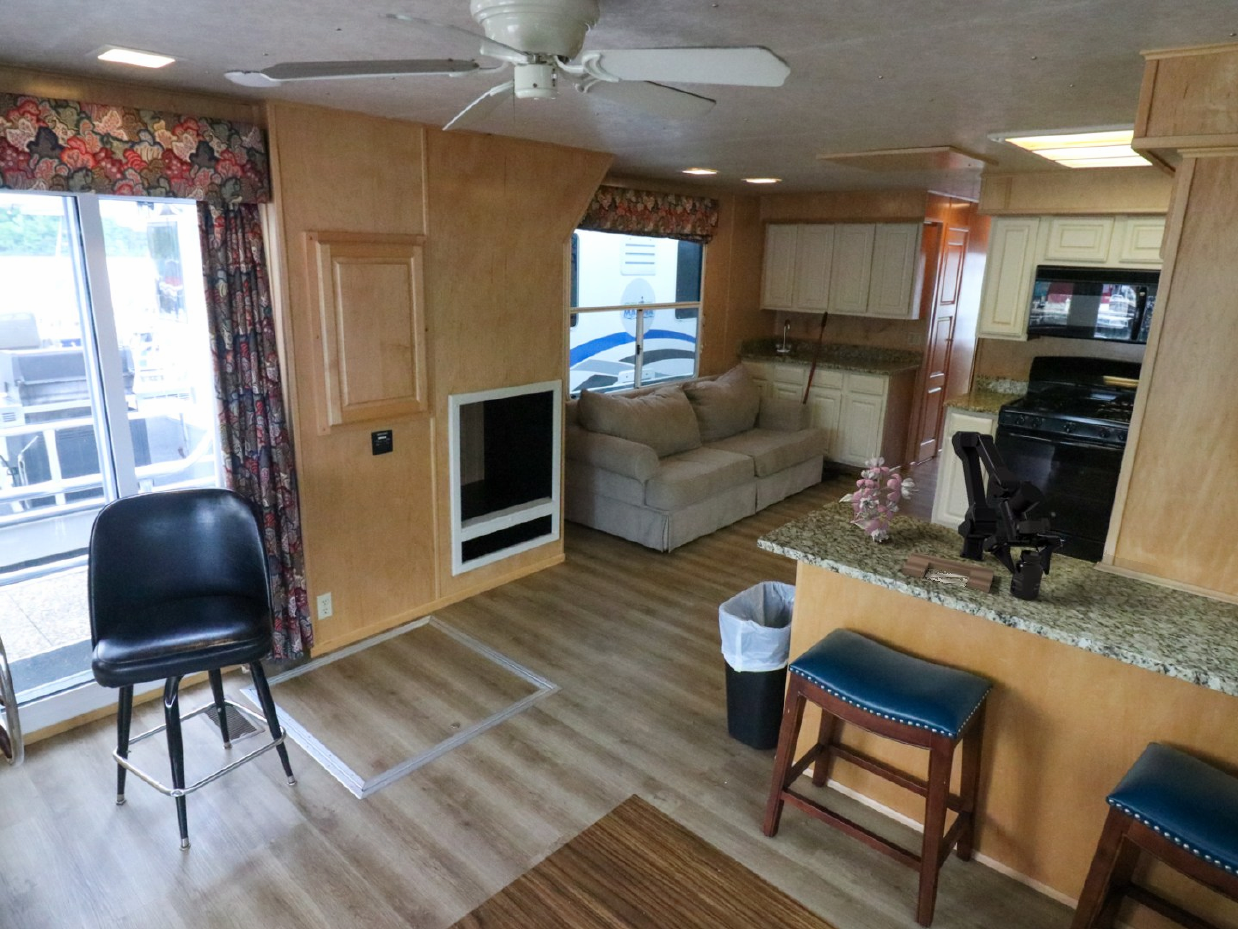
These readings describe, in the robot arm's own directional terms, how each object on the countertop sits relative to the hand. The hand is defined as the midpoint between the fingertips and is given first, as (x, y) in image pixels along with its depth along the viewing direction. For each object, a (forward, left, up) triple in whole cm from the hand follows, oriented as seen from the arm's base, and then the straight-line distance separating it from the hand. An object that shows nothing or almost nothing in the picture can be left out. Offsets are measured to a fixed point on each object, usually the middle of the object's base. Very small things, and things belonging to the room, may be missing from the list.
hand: (1030, 574), depth 200 cm
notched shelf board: (-4, -20, -7) cm, 21 cm away
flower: (-25, -45, -7) cm, 52 cm away
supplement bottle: (-1, -1, -7) cm, 7 cm away
